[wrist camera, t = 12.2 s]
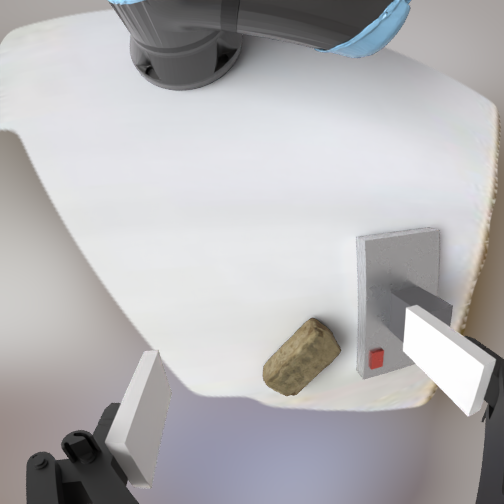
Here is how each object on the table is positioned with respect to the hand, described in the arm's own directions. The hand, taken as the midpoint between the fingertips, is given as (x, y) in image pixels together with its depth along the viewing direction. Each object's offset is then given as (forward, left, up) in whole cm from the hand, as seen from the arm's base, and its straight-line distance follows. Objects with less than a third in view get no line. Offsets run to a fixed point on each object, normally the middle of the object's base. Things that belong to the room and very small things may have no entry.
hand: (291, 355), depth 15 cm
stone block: (+16, +5, -27) cm, 32 cm away
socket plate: (+11, +21, -27) cm, 36 cm away
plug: (+11, +21, -27) cm, 36 cm away
